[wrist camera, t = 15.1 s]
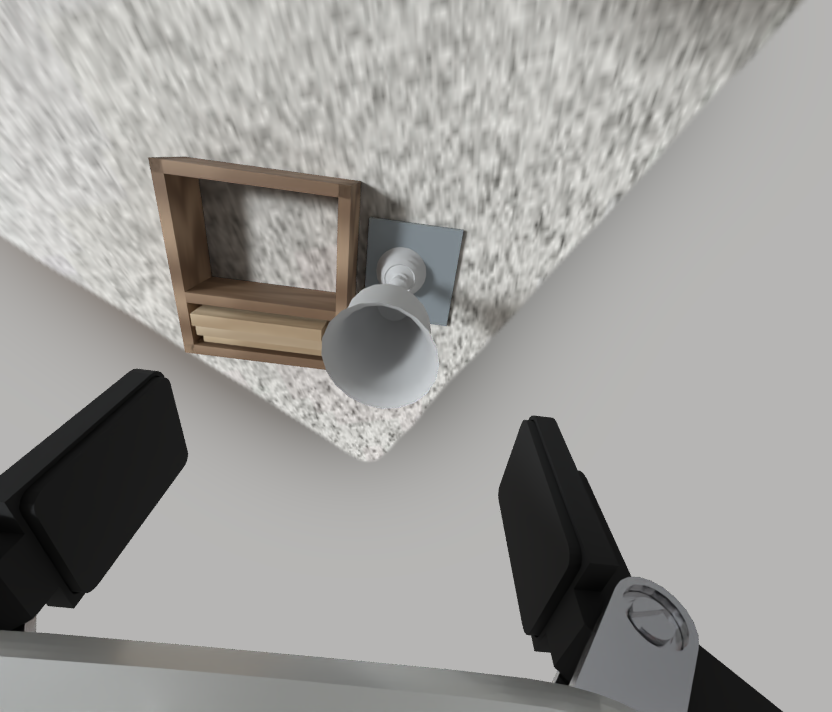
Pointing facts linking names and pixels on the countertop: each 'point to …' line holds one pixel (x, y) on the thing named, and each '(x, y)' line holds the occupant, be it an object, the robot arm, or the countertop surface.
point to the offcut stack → (259, 329)
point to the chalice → (384, 337)
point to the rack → (199, 288)
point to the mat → (434, 249)
